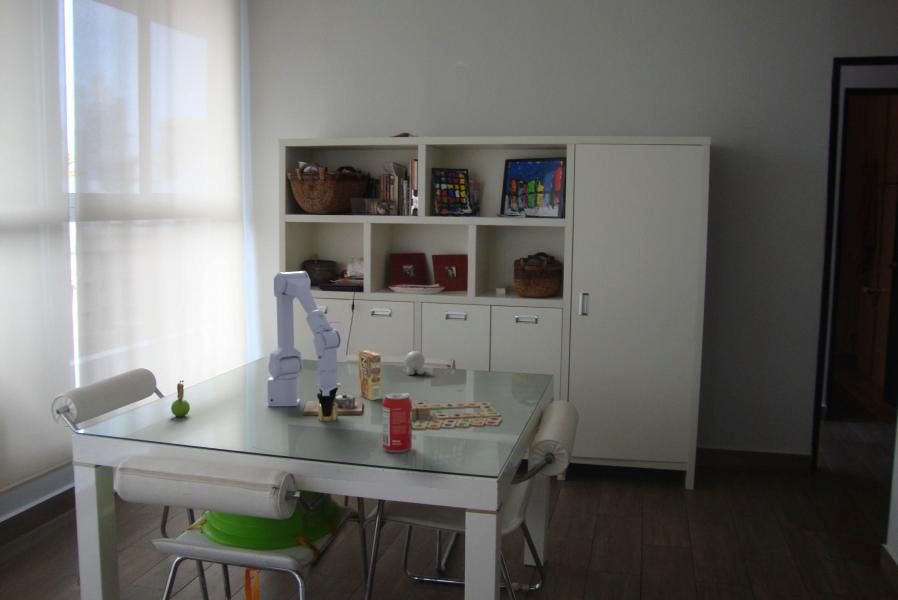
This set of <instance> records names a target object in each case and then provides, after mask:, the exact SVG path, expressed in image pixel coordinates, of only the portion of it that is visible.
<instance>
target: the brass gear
mask: <svg viewBox="0 0 898 600" xmlns="http://www.w3.org/2000/svg"><path fill="white" fill-rule="evenodd" d="M317 416H318V417H317V419H318V420H319V421H321V422H322V421H323V422H331V421H333V422H334V421H337V420H338V418H339V417H338V416H339V415H338V404H336V403H335V402H334V403H333V405H332V412H331V416H330V417H324V416H323V412H322V407H321V404H318V415H317Z"/></svg>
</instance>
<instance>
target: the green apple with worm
mask: <svg viewBox="0 0 898 600" xmlns="http://www.w3.org/2000/svg"><path fill="white" fill-rule="evenodd" d="M176 385H177V386H176V389H177V390H176V391H177V399H175V400H174V401H173V402H172V403H171V406H170V407H171V413H172V415H174V416H175V417H178V418H182V417H185V416H187V415H188V414H189V412H190V409H191V406H190V403H189V401H187V400H186V399H184V387H185V385H184V380H179V383H177V384H176Z"/></svg>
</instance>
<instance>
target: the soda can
mask: <svg viewBox="0 0 898 600" xmlns="http://www.w3.org/2000/svg"><path fill="white" fill-rule="evenodd" d="M412 402H413V401H412V399H411V397H410V394H409V393H407V392H390V393H386V394H385V395H384V399H383V400H382V403H381V404H382V406H381V407H382V408H381V409H382V411H381V413H382V448H383V449H384V450H385V451H387V452H389V453H393V454H394V453H395V454H396V453H397V454H398V453H405V452H407V451H408V450H409V451H410V449H411V448H412V446H413V436H412V435H413V430H412V422H413V421H412Z"/></svg>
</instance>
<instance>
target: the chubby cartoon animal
mask: <svg viewBox="0 0 898 600" xmlns="http://www.w3.org/2000/svg"><path fill="white" fill-rule="evenodd" d="M425 362H426V361H425V356H424V354H423V353H422V352H420V351H419V350H413V351H409V353H407V354H406V356H405V358H404V363H405V366H406V367H407V368H406V374H407V375H408V376H413V375H415V374H417V375H424V365H425Z"/></svg>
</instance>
